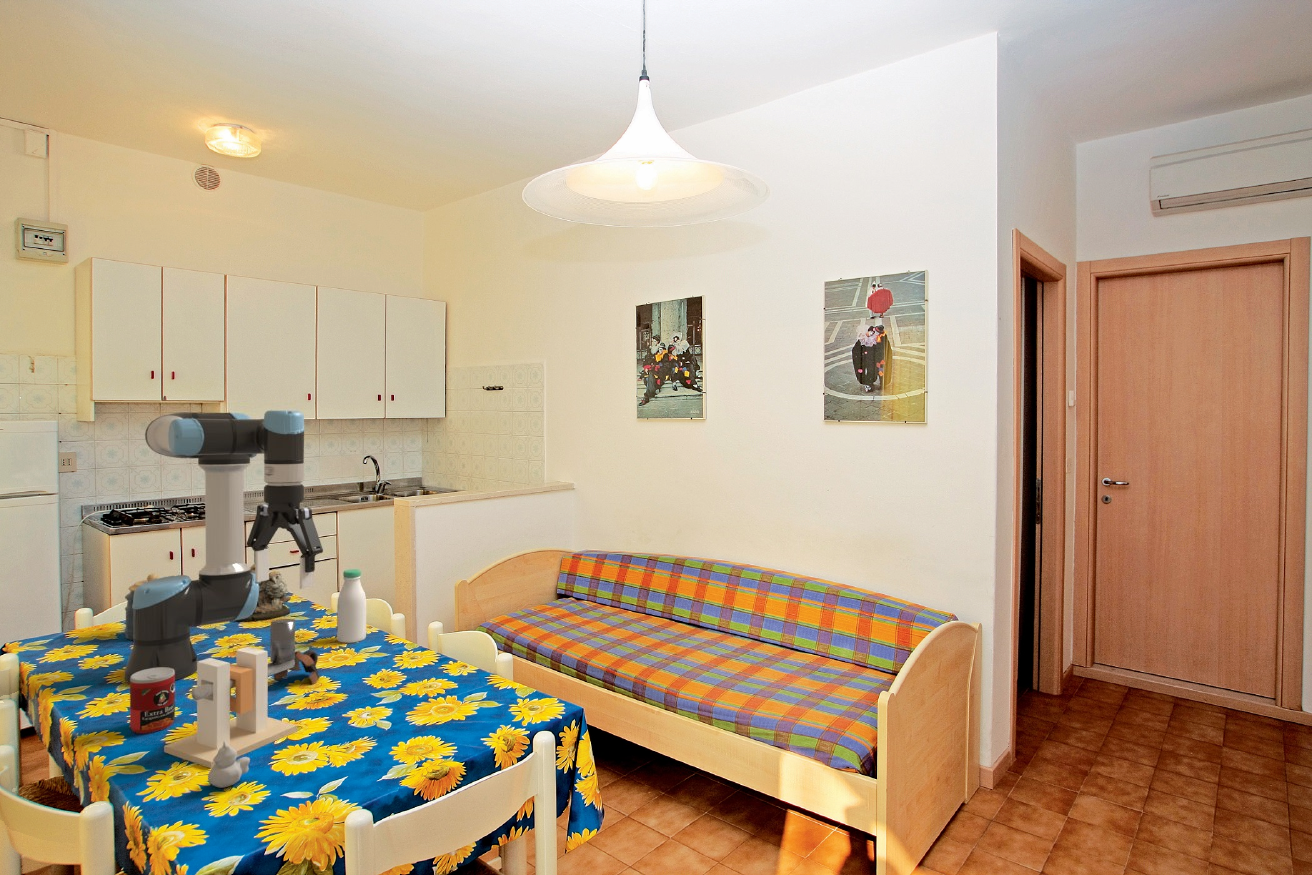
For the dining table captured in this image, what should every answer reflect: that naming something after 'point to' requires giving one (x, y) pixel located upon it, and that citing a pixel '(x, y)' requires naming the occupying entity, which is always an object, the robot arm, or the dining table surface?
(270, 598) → the owl figurine
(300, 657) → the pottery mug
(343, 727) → the dining table surface
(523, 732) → the dining table surface
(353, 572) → the milk bottle
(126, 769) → the dining table surface
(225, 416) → the robot arm
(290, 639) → the shaft
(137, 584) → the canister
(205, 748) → the wooden twin post stand
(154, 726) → the canned food
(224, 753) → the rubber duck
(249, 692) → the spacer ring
